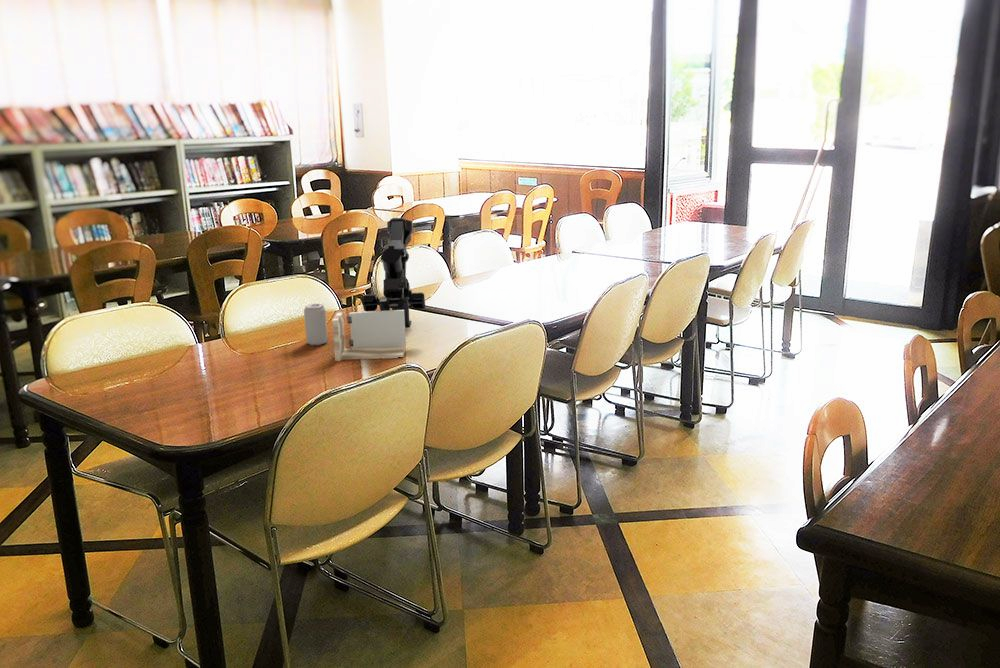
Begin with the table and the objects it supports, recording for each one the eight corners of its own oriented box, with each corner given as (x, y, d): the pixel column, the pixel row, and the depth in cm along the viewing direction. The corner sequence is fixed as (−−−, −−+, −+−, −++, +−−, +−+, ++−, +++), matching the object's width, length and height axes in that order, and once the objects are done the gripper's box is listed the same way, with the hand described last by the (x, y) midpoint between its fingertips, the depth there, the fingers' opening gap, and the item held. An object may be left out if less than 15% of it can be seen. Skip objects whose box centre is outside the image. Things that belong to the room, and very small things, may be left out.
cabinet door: (349, 348, 239) (346, 312, 236) (405, 344, 242) (404, 309, 239) (349, 349, 238) (346, 313, 235) (406, 346, 240) (404, 310, 237)
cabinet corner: (340, 351, 238) (337, 312, 235) (405, 349, 239) (403, 310, 236) (335, 361, 229) (332, 320, 225) (402, 359, 229) (400, 318, 226)
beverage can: (330, 340, 250) (327, 303, 247) (324, 346, 244) (321, 307, 241) (310, 340, 251) (307, 302, 247) (303, 346, 244) (300, 307, 241)
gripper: (360, 268, 240) (358, 313, 232) (422, 266, 241) (423, 310, 233) (365, 288, 250) (363, 332, 242) (425, 286, 250) (425, 329, 243)
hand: (393, 325), depth 240 cm, fingers closed
